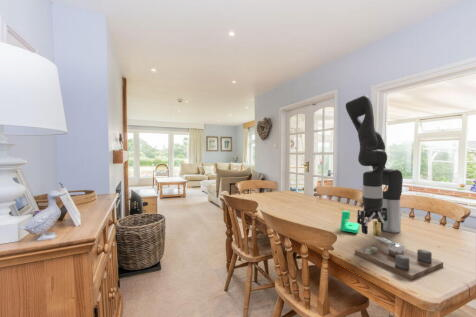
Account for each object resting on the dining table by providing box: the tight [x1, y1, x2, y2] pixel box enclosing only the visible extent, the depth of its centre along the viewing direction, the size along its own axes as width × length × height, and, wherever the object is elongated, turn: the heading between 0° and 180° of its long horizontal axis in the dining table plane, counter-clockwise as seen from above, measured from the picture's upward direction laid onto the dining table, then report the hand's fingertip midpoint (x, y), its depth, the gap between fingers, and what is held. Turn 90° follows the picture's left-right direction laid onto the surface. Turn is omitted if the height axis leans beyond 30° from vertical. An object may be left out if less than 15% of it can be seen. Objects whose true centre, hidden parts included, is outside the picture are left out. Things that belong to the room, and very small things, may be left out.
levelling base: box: [354, 241, 444, 281], centre depth 85 cm, size 20×21×5 cm
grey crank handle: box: [372, 220, 405, 257], centre depth 90 cm, size 14×5×10 cm, turn 7°
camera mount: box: [340, 210, 361, 234], centre depth 118 cm, size 12×8×10 cm, turn 144°
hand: (372, 232), depth 94 cm, fingers open, 8 cm apart
